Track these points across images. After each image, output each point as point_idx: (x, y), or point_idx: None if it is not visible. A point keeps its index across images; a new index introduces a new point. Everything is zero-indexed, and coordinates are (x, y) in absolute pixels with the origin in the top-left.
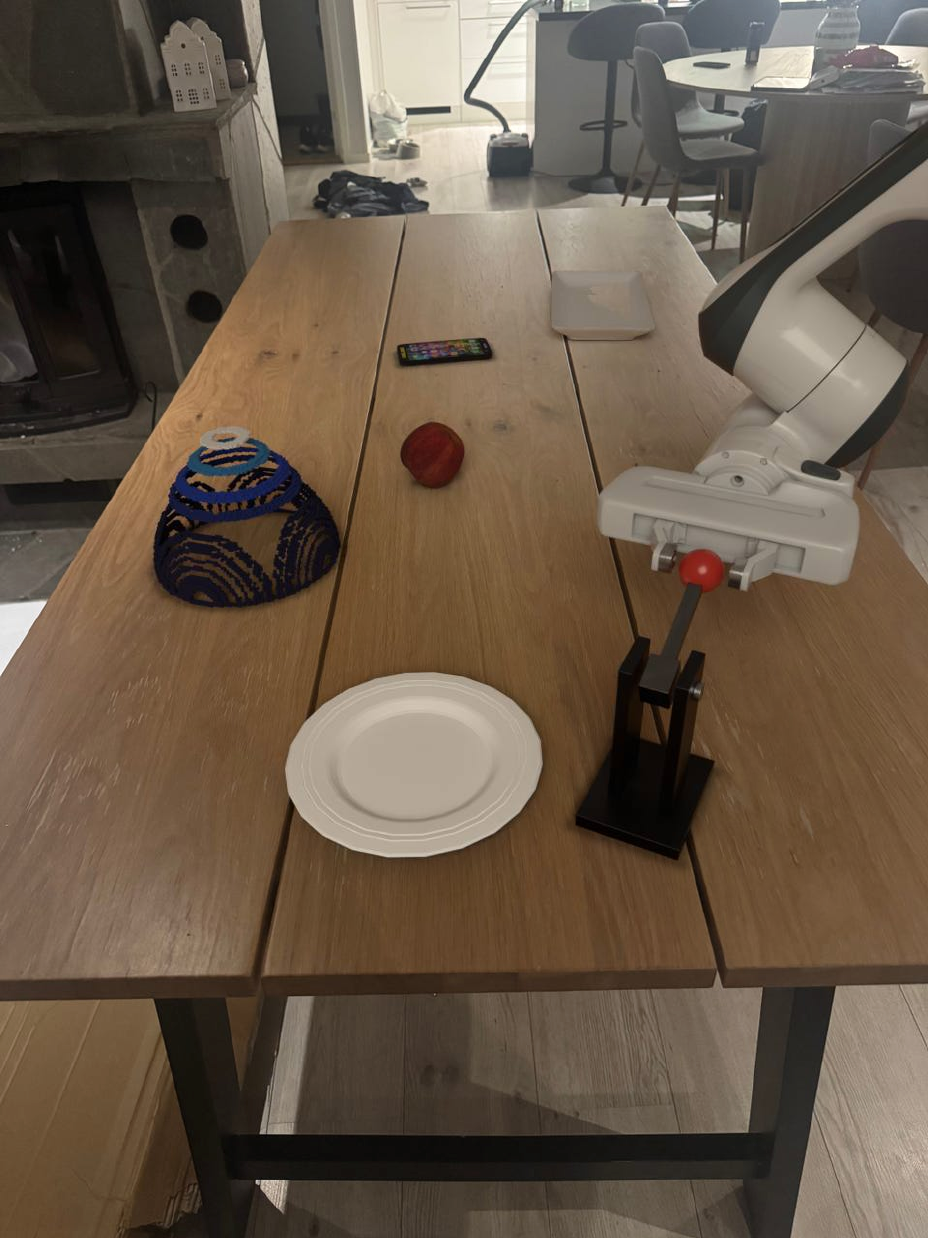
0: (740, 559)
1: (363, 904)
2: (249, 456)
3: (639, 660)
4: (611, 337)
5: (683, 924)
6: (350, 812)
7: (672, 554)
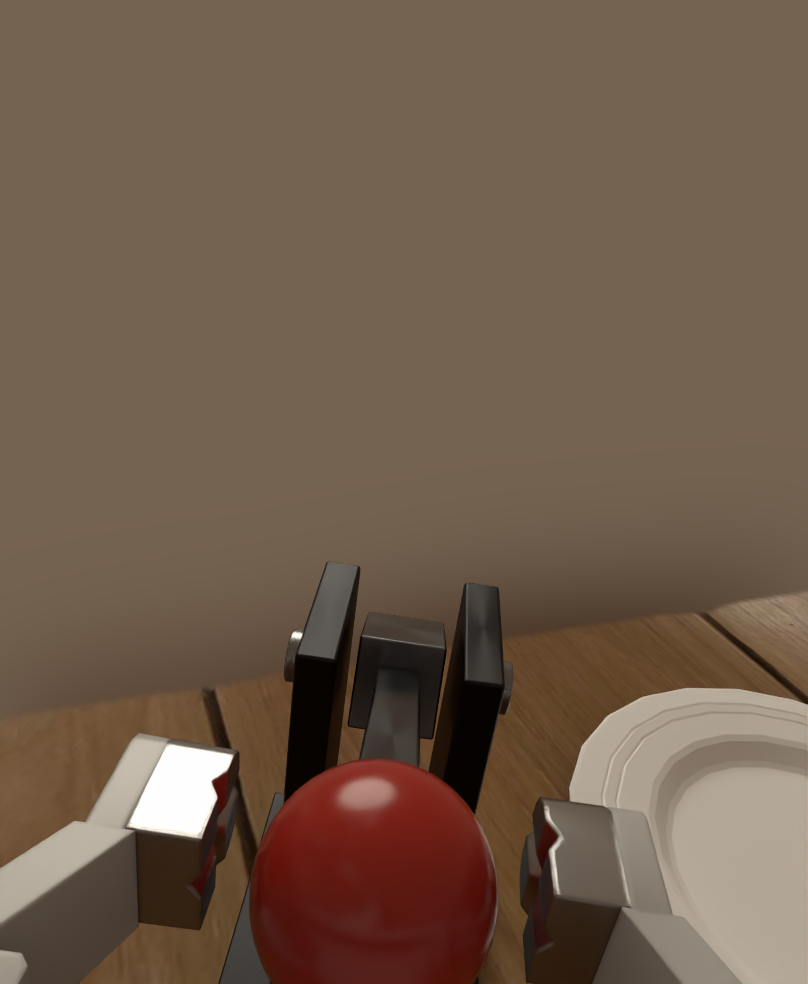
0: (172, 826)
1: (667, 675)
2: None
3: (464, 619)
4: None
5: (258, 719)
6: (798, 736)
7: (545, 803)
